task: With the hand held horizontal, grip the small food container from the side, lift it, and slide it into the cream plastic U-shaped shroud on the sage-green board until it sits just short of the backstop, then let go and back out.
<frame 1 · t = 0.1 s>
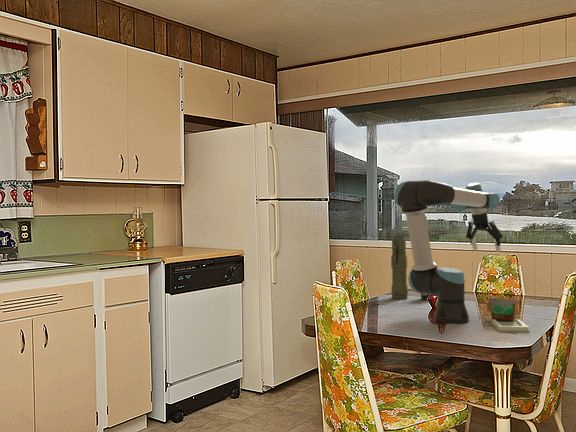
hand: (486, 250, 306), 28 cm above the table, tool tilted 20°, fingers open, 13 cm apart
header: (509, 327, 250), on the table
thermos: (399, 298, 329), on the table
coffee cup: (427, 299, 325), on the table
food container: (501, 321, 264), on the table
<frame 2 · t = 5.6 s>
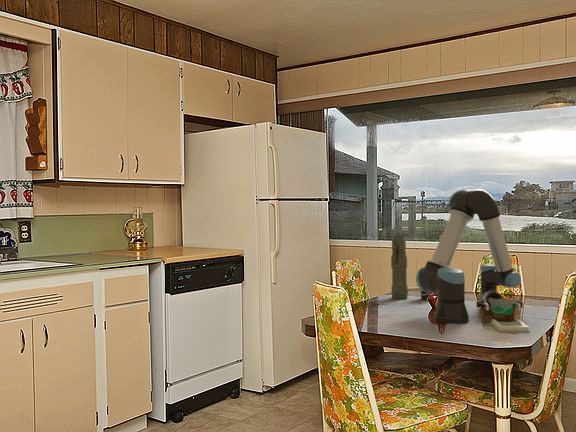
hand: (503, 307, 261), 6 cm above the table, tool horizontal, fingers open, 13 cm apart
food container: (501, 321, 264), on the table, touching gripper
everything else where it was.
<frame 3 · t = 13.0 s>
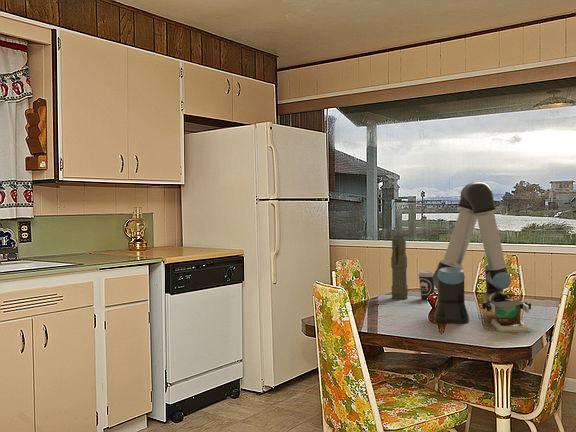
hand: (510, 309, 246), 8 cm above the table, tool horizontal, fingers open, 13 cm apart
food container: (507, 324, 249), point 1 cm above the table, touching gripper, header
everything else where it was.
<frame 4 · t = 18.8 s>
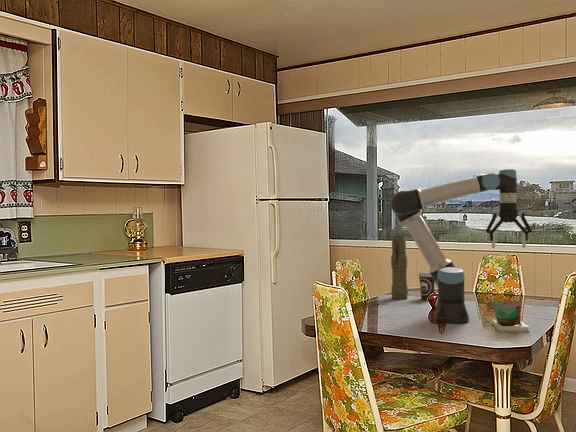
hand: (508, 248, 274), 32 cm above the table, tool pointing down, fingers open, 13 cm apart
food container: (507, 325, 250), point 1 cm above the table, touching header
everything else where it was.
at the end: food container 0.9 cm off-centre on the header, point 1.0 cm above the header's base; food container tilted 10°; the gripper is holding nothing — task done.
